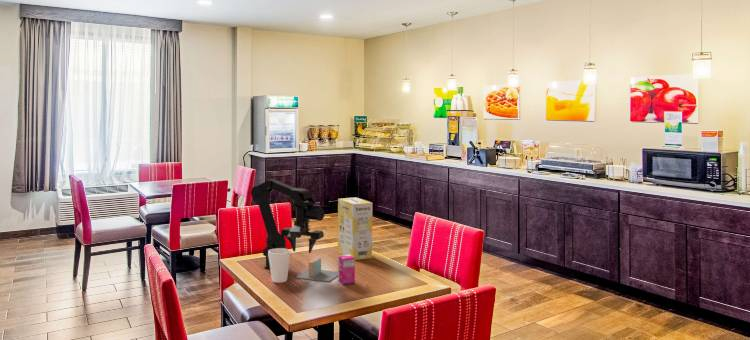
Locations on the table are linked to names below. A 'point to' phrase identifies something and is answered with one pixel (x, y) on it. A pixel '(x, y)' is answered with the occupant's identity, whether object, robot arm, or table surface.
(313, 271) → the tile
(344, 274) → the supplement box
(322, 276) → the mat
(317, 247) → the table surface
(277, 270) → the foam cup
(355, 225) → the pasta box
